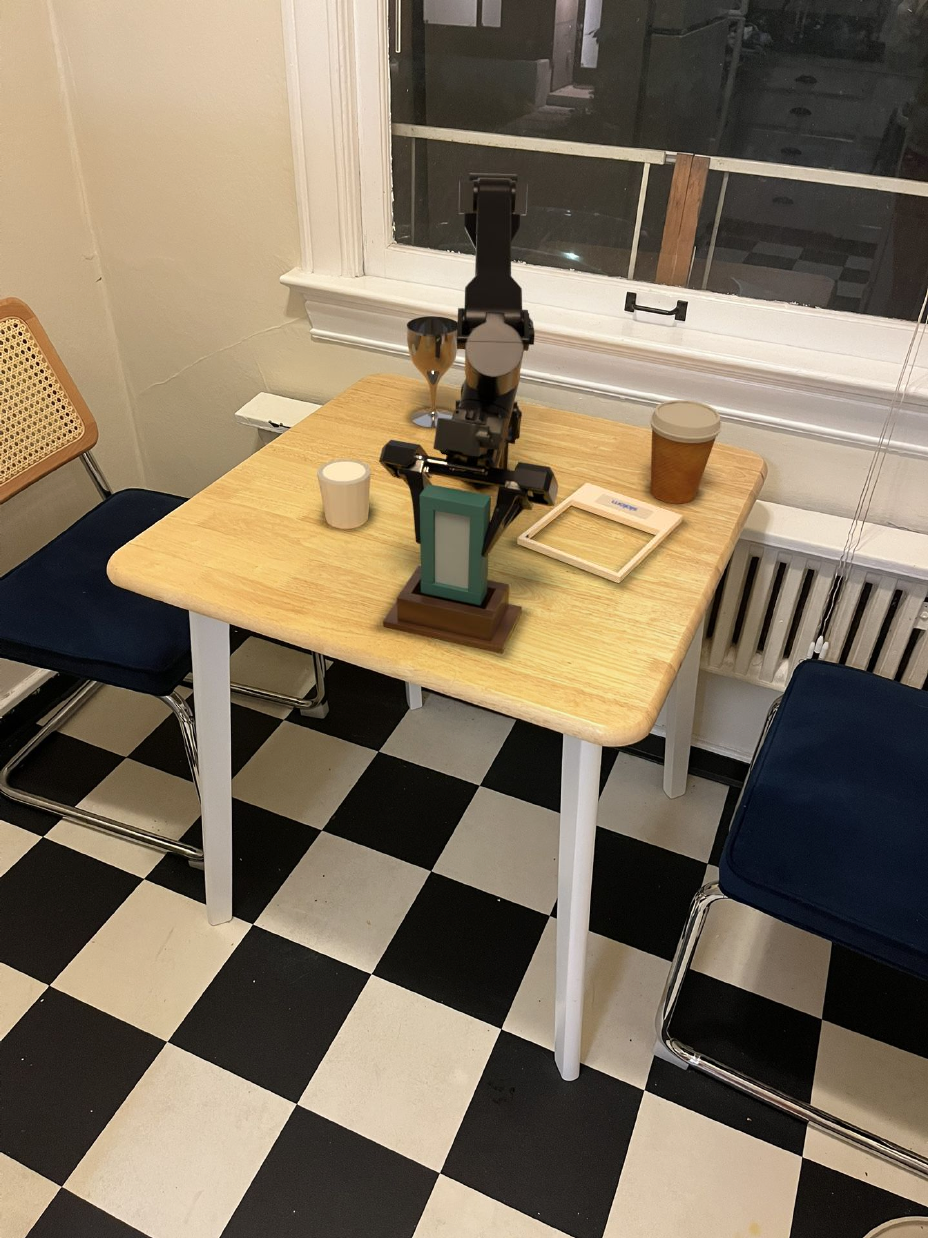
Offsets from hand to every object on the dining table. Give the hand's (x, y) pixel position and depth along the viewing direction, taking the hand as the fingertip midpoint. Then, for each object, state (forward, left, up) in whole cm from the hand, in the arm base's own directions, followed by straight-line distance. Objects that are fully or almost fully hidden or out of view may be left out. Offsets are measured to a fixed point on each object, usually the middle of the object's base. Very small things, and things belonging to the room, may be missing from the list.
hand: (450, 549), depth 96 cm
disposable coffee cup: (-43, -9, -10) cm, 45 cm away
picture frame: (-1, -1, -7) cm, 7 cm away
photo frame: (-28, -6, -10) cm, 30 cm away
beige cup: (-1, -27, -10) cm, 29 cm away
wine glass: (-27, -47, -10) cm, 55 cm away
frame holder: (-1, -1, -10) cm, 10 cm away
